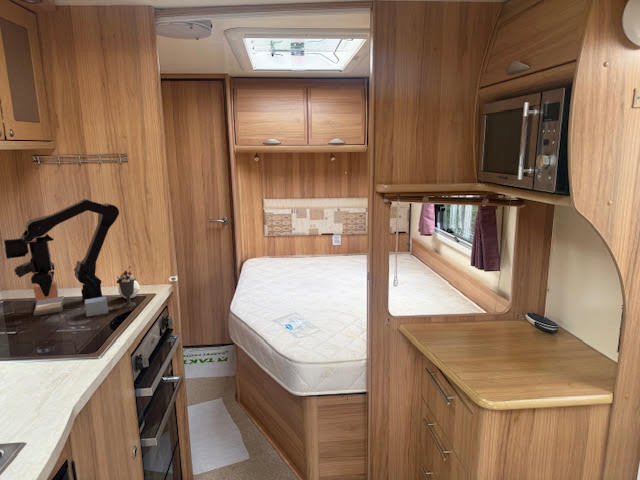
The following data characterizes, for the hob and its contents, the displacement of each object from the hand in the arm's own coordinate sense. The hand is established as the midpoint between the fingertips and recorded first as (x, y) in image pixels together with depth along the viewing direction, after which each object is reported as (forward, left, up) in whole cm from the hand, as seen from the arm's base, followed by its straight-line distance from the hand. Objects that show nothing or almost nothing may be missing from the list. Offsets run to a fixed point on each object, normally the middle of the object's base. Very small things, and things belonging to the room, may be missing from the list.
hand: (47, 294), depth 165 cm
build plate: (0, -3, -6) cm, 6 cm away
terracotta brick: (0, 0, -1) cm, 1 cm away
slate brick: (-16, +13, -6) cm, 21 cm away
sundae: (-27, +11, -6) cm, 30 cm away
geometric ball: (-28, +2, -6) cm, 29 cm away
